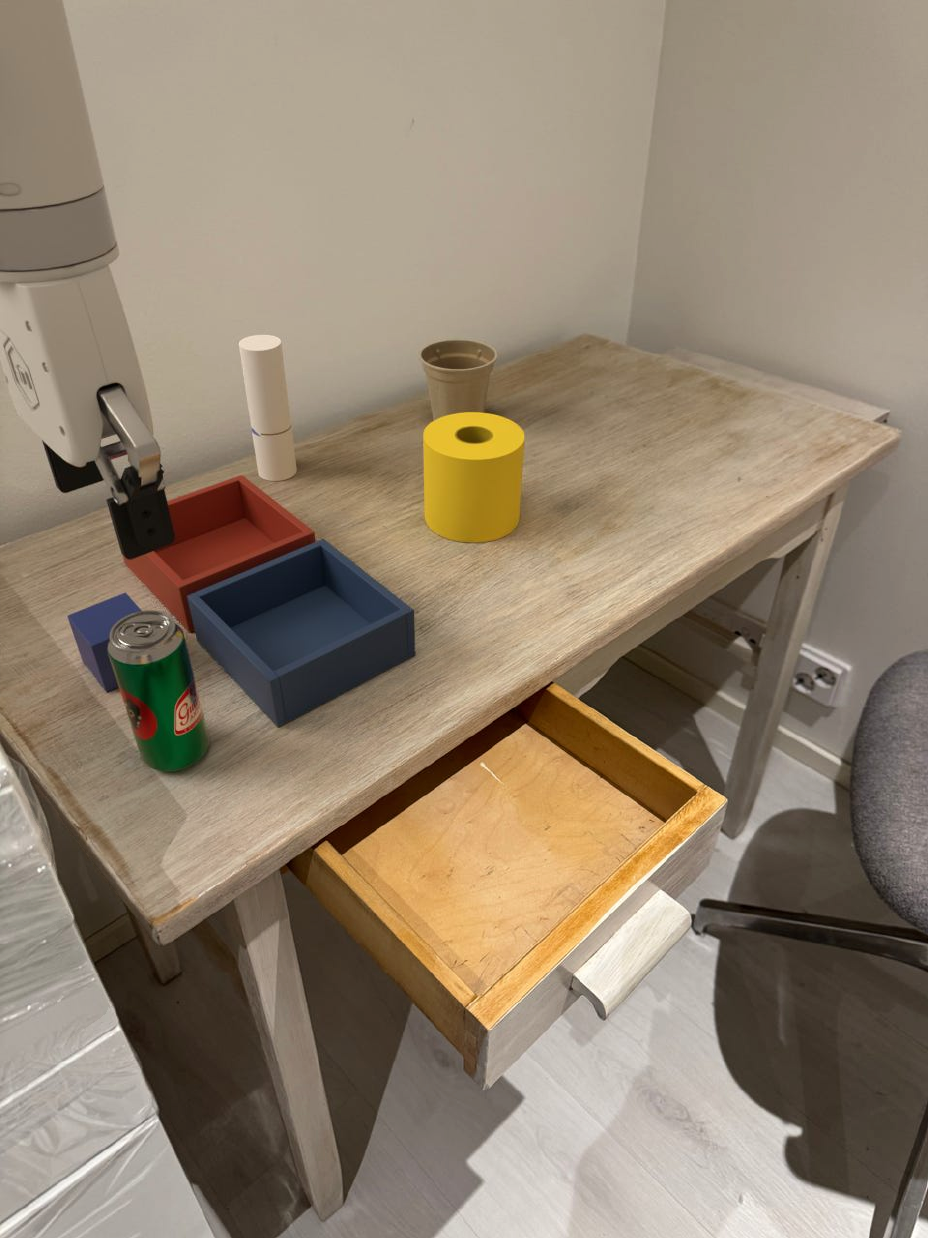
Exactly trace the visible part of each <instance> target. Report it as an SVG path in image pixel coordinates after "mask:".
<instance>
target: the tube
mask: <svg viewBox="0 0 928 1238" xmlns="http://www.w3.org/2000/svg"><path fill="white" fill-rule="evenodd" d="M238 350H239V356H240V362H241V369H242V376H243V381H244V389H245V394H246V401H247V408H248V415H249V421H250V426H251V427H250V428H251V435H252V440H253V447H254V448H253V449H254V453H255V461H256V467H257V473H258V476H259V478H261V479H263V480H264V481H269V482H281V481H285V480H288V479H290V478H292V477H294V476H295V475H296V474H297V471H298V469H297V461H296V451H295V445H294V436H293V428H292V420H291V419H292V418H291V412H290V411H291V410H290V403H289V395H288V387H287V378H286V371H285V370H286V369H285V362H284V354H283V347H282V339H280V338H279V337H278V336H276V335H272V334H255V335H254V334H253V335H249V336H246V337H243V338H242V339H240V340H239V342H238Z"/></svg>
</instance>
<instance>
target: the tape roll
mask: <svg viewBox="0 0 928 1238" xmlns="http://www.w3.org/2000/svg"><path fill="white" fill-rule="evenodd" d="M422 438H423V439H422V443H423V446H422V448H423V494H424V495H423V496H424V497H423V498H424V499H423V500H424V502H423V503H424V506H423V507H424V521H425V523H426V525H427V527H428V528H429V529H430V531H432V532H433V533H434V534H437V535H438V536H440V537H442V538H445V539H447V540H450V541H454V542H459V543H468V544H469V543H470V544H471V543H472V544H477V543H478V544H479V543H487V542H491V541H496V540H499V539H502V538H503V537H506V536H507V535H510V534H511V533H512V532H513V531H515V529H516V528H517V527H518V525H519V523H520V518H521V517H520V515H521V500H522V485H523V483H522V481H523V465H524V450H525V432H524V430H523V429H522V427H521V426H520V425H519V424H518V423H517V422H515V421H513V420H511V419H509V418H507V417H505V416H501V415H497V414H494V413H488V412H484V413H480V412H464V413H456V414H451V415H447V416H443V417H441V418H438V419H436V420H433V421H431V422H430V423H429V424H427V426H426V427H425V428H424V430H423V433H422Z"/></svg>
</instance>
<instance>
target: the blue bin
mask: <svg viewBox="0 0 928 1238" xmlns="http://www.w3.org/2000/svg"><path fill="white" fill-rule="evenodd" d="M187 599H188V603H189V607H190V612H191V616H192V620H193V625H194V629H195V631H194V633H195V638H196V641H197V642H198V644H200V646H201V647H202V648H203V649H204V650H205V651H206V652H207V653H208V654H209V655H210V656H211V657H212V659H213V660H214V661H215V662H216V663H217V664H218V665H219V666H220V667H221V668H222V669H223V671H225V673H226V674H227V675H228V676H229V677H230V678H231V679H232V680H233V681H234V682H235V683H236V684H237V685H238V686H239V687H240V689H241V690H243V691H244V693H245V694H246V695H247V696H248V698H250V699H251V700H252V701H253V703H254V704H256V706H257V707H258V708H259V709H260V710H261V711H262V712H263V713H264V715H265V716H267V718H268V719H269V720H270V721H271V722H272V723H273V724H274V725H275V726H276V727H277V728H281V727H282V726H284V725H285V724H288V723H290V722H291V721H294V720H295V719H297V718H299V717H302V716H303V715H305V714H307V713H309V712H311V711H313V710H314V709H316V708H318V707H320V706H322V705H324V704H326V703H327V702H330V701H332V700H333V699H336V698H337V697H339V696H341V695H343V694H345V693H347V692H348V691H350V690H352V689H354V688H356V687H358V686H360V685H361V684H363V683H365V682H367V681H369V680H371V679H373V678H375V677H377V676H378V675H380V674H382V673H384V672H386V671H388V670H390V669H392V668H393V667H396V666H397V665H400V664H401V663H403V662H405V661H407V660H409V659H411V658H413V657H414V656H416V634H415V633H416V632H415V609H413V608H412V607H411V606H410V605H409V604H407V603H406V602H405V601H404V600H402V599H401V598H399V597H398V596H397V595H396V594H395V593H393V591H391V590H389V589H388V588H387V587H386V586H384V584H382V583H381V582H379V581H378V580H376V579H375V578H374V577H373V576H372V575H370V574H369V573H368V572H367V571H365V570H364V569H362V568H361V567H360V566H359V565H358V564H356V563H355V562H354V561H352V560H351V559H350V558H349V557H348V556H346V555H345V554H344V553H342V552H341V551H340V550H338V549H337V548H336V547H335V546H333V544H331V543H329V542H328V540H326V539H325V538H321V539H319V540H316V542H314V543H312V544H310V545H307V546H305V547H302V548H300V549H298V550H295V551H293V552H290V553H288V554H286V555H283V556H281V557H279V558H276V559H274V560H271V561H269V562H267V563H264V564H262V565H259V566H257V567H255V568H252V569H250V570H247V571H245V572H243V573H240V574H238V575H236V576H233V577H231V578H228V579H226V580H224V581H221V582H219V583H216V584H214V585H212V586H209V587H207V588H204V589H202V590H200V591H197V592H196V593H193V594H190V595H188V596H187Z"/></svg>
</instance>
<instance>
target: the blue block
mask: <svg viewBox="0 0 928 1238" xmlns="http://www.w3.org/2000/svg"><path fill="white" fill-rule="evenodd" d="M140 611H143V610H142V609H141V608H140V606H138V604H137V603H135V601H134V600H133V599H132V598H131V597H130V596H129V594H128V593H127V592H123V593H120V594H118V595H115V596H113V597H110V598H108V599H105V600H103V601H100V602H97V603H95V604H93V605H90V606H88V607H85V608H83V609H80V610H78V611H75V612H73V613H70V614H68V615H67V620H68V622H69V626H70V628H71V631H72V634H73V637H74V641H75V643H76V646H77V649H78V652H79V655H80V658H81V661H82V662H83V664H84V665H85V666H86V668H87V669H88V670H89V671H90V673H91V674H92V676H93V677H94V678H95V680H96V681H97V683H99V685H100V686H101V687H102V689H103V690H104V691H105V692H106V693H109V692H111V691H114V690H116V689H117V688H118V689H119V686H118V683H117V680H116V677H115V674H114V671H113V667H112V664H111V661H110V658H109V655H108V651H107V647H108V643H109V641H110V637H109V636H110V631H111V629H112V627H113V626H114V625H115V624H116V623H117V622H118V621H119V620H120V619H122V618H124V617H126V616H127V615H130V614H132V613H136V612H140Z"/></svg>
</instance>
